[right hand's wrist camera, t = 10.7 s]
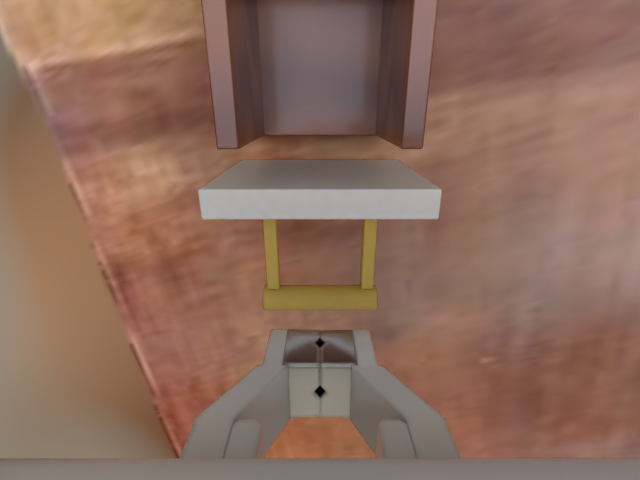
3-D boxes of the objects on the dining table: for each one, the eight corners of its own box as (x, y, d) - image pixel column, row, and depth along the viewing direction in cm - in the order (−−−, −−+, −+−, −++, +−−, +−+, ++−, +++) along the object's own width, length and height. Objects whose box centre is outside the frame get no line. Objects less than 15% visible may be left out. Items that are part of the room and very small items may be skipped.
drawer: (390, 264, 22) (423, 338, 15) (250, 264, 22) (217, 338, 15) (430, -227, 14) (543, -566, 7) (208, -226, 14) (95, -564, 7)
